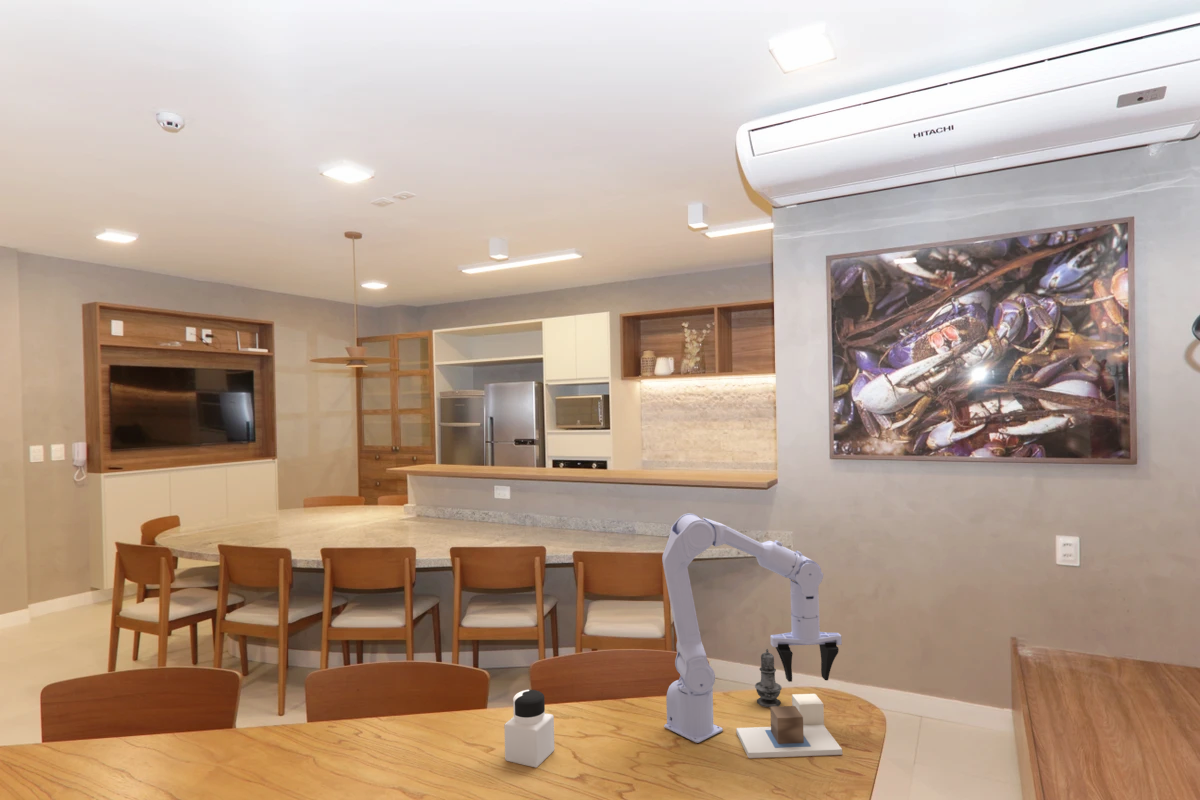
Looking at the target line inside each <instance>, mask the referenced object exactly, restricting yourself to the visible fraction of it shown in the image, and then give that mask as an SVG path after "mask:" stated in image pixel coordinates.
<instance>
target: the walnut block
mask: <svg viewBox="0 0 1200 800" xmlns="http://www.w3.org/2000/svg"><path fill="white" fill-rule="evenodd" d="M769 709H770V727H771V732H772V734H773V736H774V738H775V739H776V741H777V743H778V744H789V743H804V735H803V716H802V715H801V714H800V712H799V711H798V709H797V708H796V706H792V705H785V706H783V705H780V706H775V707H770V708H769Z"/></svg>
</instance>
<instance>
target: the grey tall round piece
mask: <svg viewBox="0 0 1200 800" xmlns="http://www.w3.org/2000/svg"><path fill="white" fill-rule="evenodd" d="M769 651H770V650H769V649H768V648H767V649H766V650H765V652H763V653H762V654H761V655H760V667H759V671H760V681H758V682H756V683H755V684H754V688H755V689H756V693H757V694H758V696H759V697H758V698H757V699H756V703H757V705H758V706H761V707H764V708H769V709H770V707H775V706H781V701H780V700H779V699H778V697H780V694H781V690H782V685H781V684H779V683H778V682H776V676H775V675H776V671H777V669H776V668H775V656H774V655H773V653H771V652H769Z"/></svg>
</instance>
